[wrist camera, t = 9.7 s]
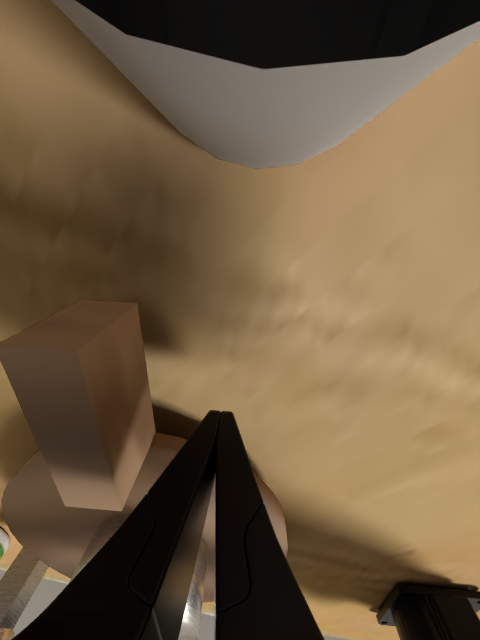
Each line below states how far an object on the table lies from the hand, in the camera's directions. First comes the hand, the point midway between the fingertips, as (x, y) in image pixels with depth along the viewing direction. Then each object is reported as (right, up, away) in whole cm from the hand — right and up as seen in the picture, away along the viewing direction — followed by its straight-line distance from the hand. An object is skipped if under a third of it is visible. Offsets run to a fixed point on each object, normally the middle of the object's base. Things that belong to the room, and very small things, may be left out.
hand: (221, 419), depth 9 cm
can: (+2, +12, -2) cm, 12 cm away
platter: (-5, -6, +5) cm, 9 cm away
